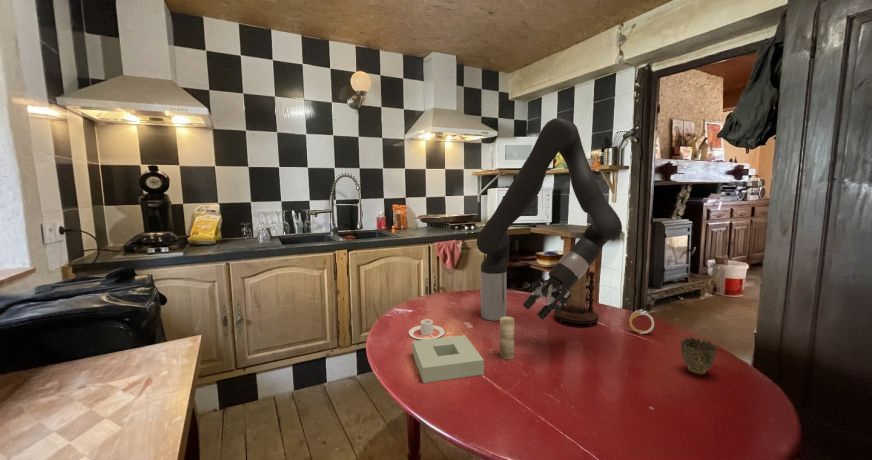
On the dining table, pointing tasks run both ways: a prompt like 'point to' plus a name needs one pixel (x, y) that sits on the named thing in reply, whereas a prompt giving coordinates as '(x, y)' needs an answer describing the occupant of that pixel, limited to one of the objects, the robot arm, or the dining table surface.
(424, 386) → the dining table surface
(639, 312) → the ring
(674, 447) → the dining table surface
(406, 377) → the dining table surface
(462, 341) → the square hole plate
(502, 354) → the birch peg
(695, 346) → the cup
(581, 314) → the scroll
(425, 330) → the candle holder
